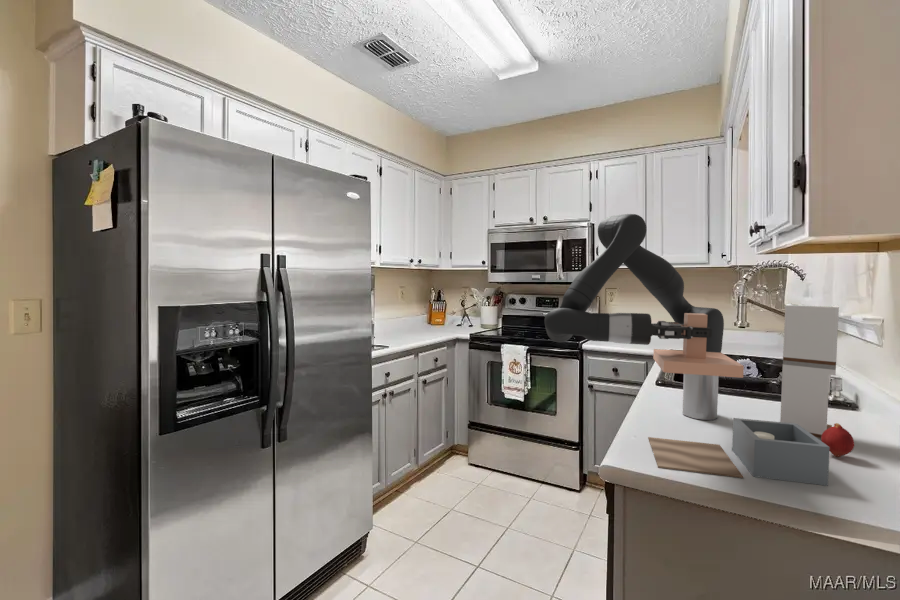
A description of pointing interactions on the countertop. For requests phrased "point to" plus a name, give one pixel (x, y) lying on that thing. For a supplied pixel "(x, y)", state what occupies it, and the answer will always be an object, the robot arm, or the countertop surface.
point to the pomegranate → (838, 440)
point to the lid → (697, 355)
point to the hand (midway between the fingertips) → (708, 331)
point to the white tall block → (808, 365)
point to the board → (693, 457)
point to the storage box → (780, 451)
